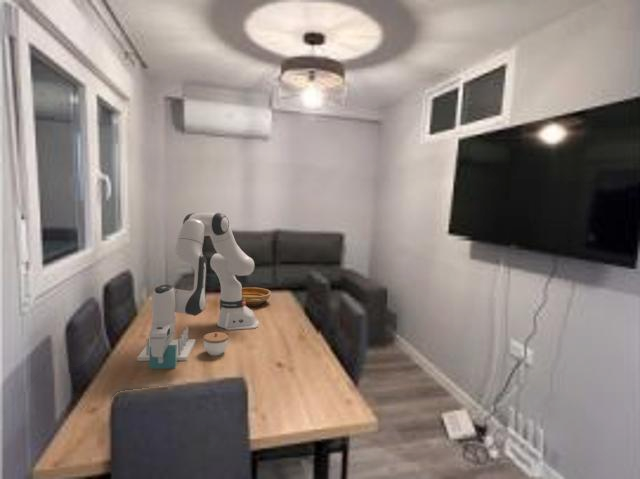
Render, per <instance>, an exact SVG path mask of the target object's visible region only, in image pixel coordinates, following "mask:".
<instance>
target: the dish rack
mask: <svg viewBox="0 0 640 479" xmlns="http://www.w3.org/2000/svg"><path fill="white" fill-rule="evenodd" d="M145 342H146V343H145V345H146V346H144V348H143V349H142V351H141V352H140V353H139V355H137V357H136V361H137V362H139V361H140V362H143V361H144V362H146V361H148V362H150V346H151V337H149V338H146V341H145ZM195 344H196V338H195V339H192V338H191V339H189V326H185V330H183V331H182V334H180V338H178V339H177V338H176V339H174V338H173V340H172V341H171V343H170V345H177V362H179V361H181V362H182V361H184V362H185V361H188V359H189V358H190V357H189V356H190V354H191V352H192V350H193V348H194V347H195Z"/></svg>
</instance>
